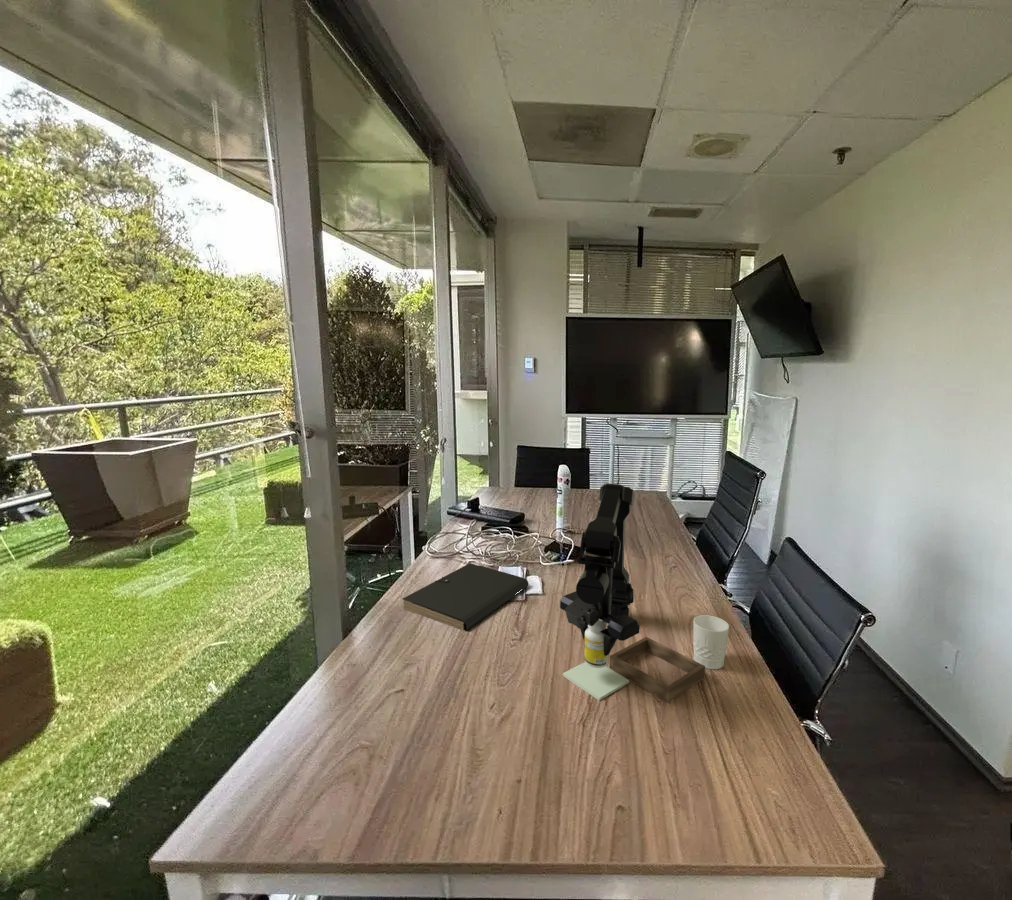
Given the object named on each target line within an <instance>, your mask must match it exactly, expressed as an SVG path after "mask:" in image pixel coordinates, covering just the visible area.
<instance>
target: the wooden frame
mask: <svg viewBox="0 0 1012 900" xmlns="http://www.w3.org/2000/svg"><path fill="white" fill-rule="evenodd" d="M646 652H647V653H650V654H651V655H654V656H656V657H657V658H660V659H661V660H663V661H665V662H667V663H669V664H671V665H673V666H675V667H677V668H678V669H681V670H682V671H683V672H686V674H684V675H682V676H681V677H679V678H678V679H676V680H675V681H673V682H672V683H670V684H669V685H667V684H665V683H663V682H662V681H660V680H659V679H657V678H655V677H653V676H652V675H649V674H647V673H646V672H644V671H643V670H641V669H639V668H637V667H636V666H634V665H633V664H630V663H628V662H629V661H631V660H632V659H634V658H636V657H638V656H640V655H641V654H644V653H646ZM608 666H609V667H608V668H609V669H611V670H613V671H614V672H616V673H618V674H619V675H621V676H623V677H624V678H626V679H628V680H629V681H631V682H633V683H634V684H636V685H638V686H639V687H640V688H642V689H644V690H646V691H647V692H649V693H651V694H653V695H654V696H656V697H658V698H659V699H661V700H662V701H664V702H666V703H668V704H670V703H671V702H673V701H674V700H676V698H679V697H680V696H681V695H683V694H684V693H685V692H687V691H688V690H690V689H691V688H692V687H694V686H695V685H698V683H700V682H701V681H702V680H704V679H705V676H706V675H705V674H706V668H705V666H704V665H702V664H700V663H698V662H696V661H694V659H692V658H689V657H688V656H686V655H684V654H681V653H679V652H678V651H676V650H673V649H672V648H669V647H668V646H665V645H663V644H661V643H659V642H657V641H656V640H653V639H652V638H650V637H647V636H645V637H643V638H641V639H639V640H637V641H635V642H633V643H632V644H630V645H628V646H626V647H624V648H622V649H621V650H618V651H617V652H614V653H612V654H610V655H609V665H608Z"/></svg>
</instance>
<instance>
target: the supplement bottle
mask: <svg viewBox="0 0 1012 900" xmlns="http://www.w3.org/2000/svg"><path fill="white" fill-rule="evenodd" d="M606 628H607V623H606V622H604V621H600V620H598V621H597V622H596V623H595V624H594V625H593V626H590V625H588V628H587V629H586V630H585V642H584V657H583V658H584V662H586V664H587V665H589V666H591V667H594V668H602V667H605V666H606V667H607V665H608V664H609V661H610V654H609V655H607V656H605V655H604V635H603V634H602V633H601V632H600V631H602V630H604V629H606Z"/></svg>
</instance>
